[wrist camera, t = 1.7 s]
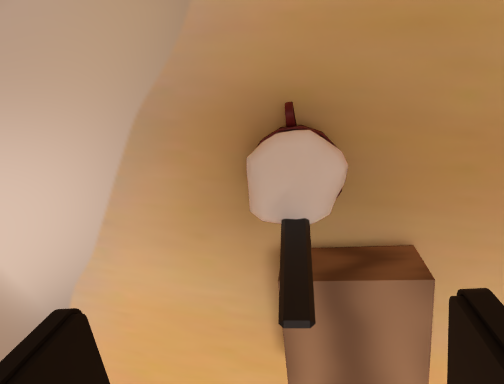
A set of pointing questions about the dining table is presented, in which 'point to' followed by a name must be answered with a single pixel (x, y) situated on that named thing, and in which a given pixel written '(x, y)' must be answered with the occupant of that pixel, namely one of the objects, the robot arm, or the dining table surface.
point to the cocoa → (295, 205)
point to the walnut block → (365, 319)
